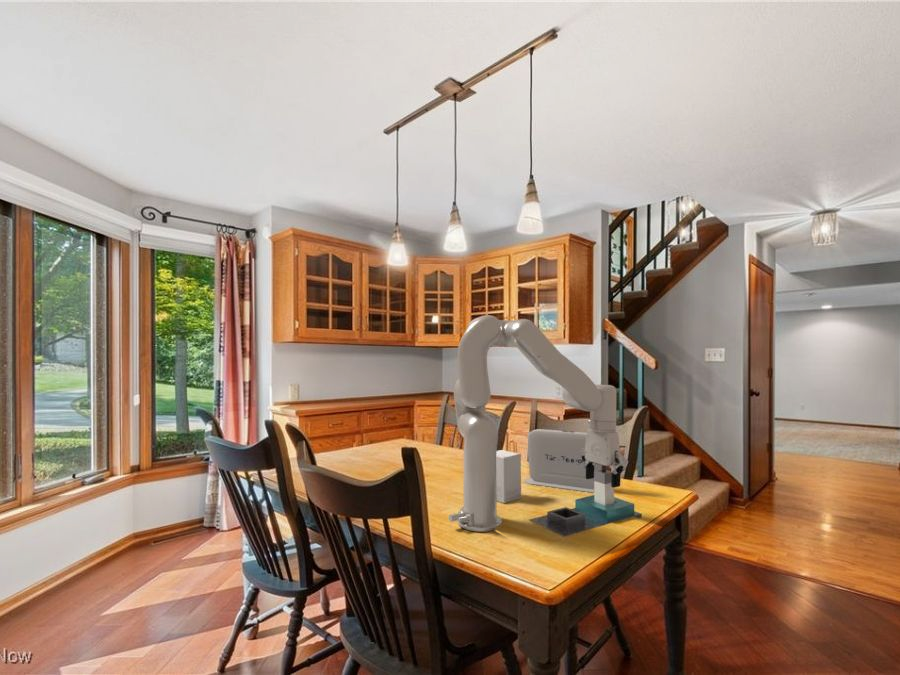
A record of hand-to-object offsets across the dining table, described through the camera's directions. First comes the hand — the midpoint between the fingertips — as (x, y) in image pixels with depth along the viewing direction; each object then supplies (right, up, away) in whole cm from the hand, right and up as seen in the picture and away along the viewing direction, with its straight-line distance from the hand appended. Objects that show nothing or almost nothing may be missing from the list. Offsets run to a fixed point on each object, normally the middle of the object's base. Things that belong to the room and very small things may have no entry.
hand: (602, 482), depth 138 cm
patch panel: (-6, -10, -4) cm, 12 cm away
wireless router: (-4, -11, +30) cm, 32 cm away
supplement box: (-28, -11, +16) cm, 34 cm away
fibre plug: (+1, -9, 0) cm, 9 cm away
